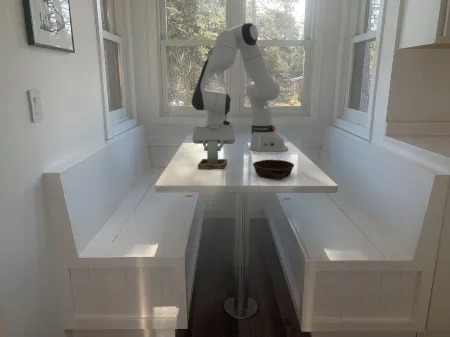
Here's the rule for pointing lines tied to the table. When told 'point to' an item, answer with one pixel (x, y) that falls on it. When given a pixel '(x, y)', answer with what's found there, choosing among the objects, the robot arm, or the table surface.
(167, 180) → the table surface
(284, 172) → the dish
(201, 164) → the walnut tray
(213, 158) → the sage ceramic canister
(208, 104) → the robot arm
